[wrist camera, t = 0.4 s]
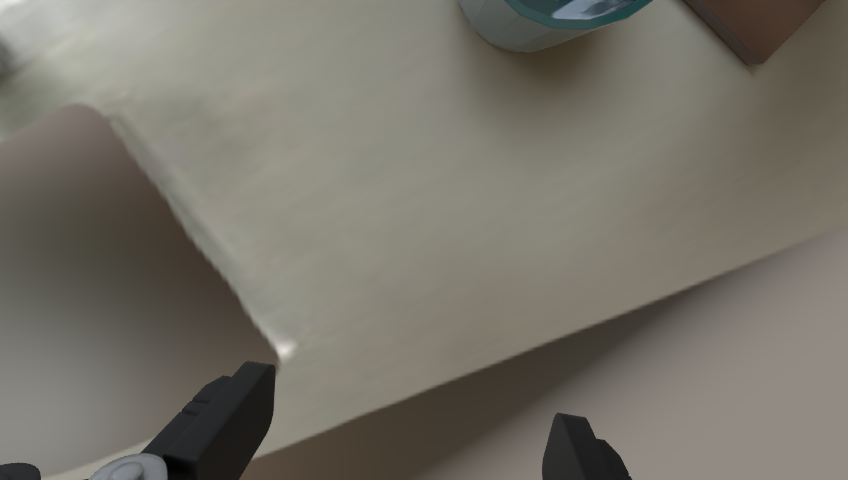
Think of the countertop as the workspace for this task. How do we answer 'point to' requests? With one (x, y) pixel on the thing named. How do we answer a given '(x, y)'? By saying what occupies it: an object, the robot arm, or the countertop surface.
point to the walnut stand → (754, 23)
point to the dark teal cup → (542, 20)
